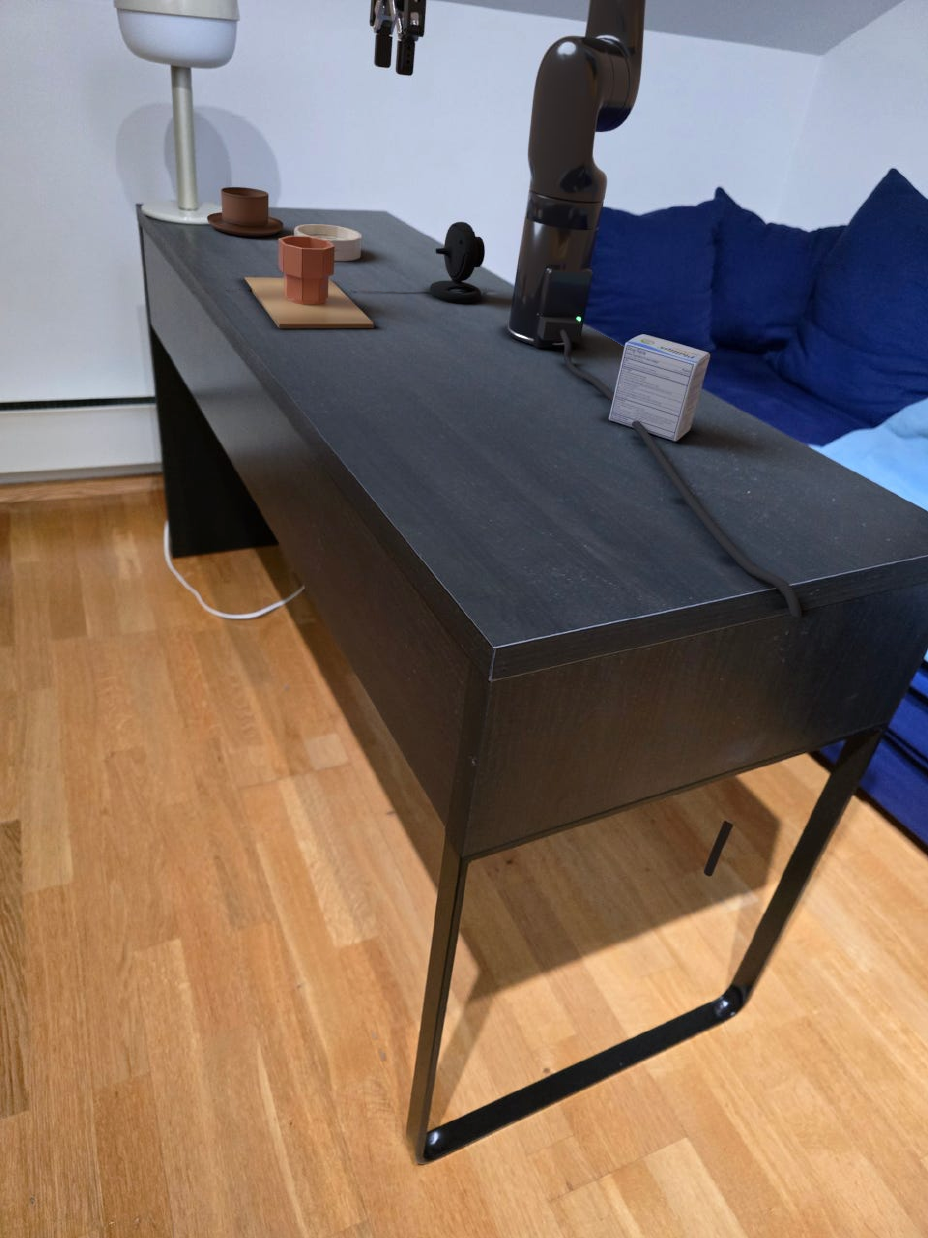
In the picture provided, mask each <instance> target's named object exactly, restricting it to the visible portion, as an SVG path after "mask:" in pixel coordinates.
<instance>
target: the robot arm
mask: <svg viewBox="0 0 928 1238" xmlns="http://www.w3.org/2000/svg"><path fill="white" fill-rule="evenodd" d="M646 2H647V0H588V5H587V7H588V8H587V16H586V26H585V32H584V36H583V35H565V36H562V37H560V38H559V39H557V40H555V41H554V42H553V43H552V44H551V45H550V46H549V47H548V49H546V52H545V53H544V55H543V56H542V59H541V60H540V63H539V67H538V69H537V72H536V73H537V74H536V76H535V77H536V78H535V82H534V88H533V95H532V102H531V103H532V104H531V114H530V125H529V133H528V143H527V163H528V164H527V165H528V169H529V176H530V177H529V186H528V193H527V200H526V207H525V213H524V219H523V225H522V233H521V239H520V244H519V245H520V246H519V252H518V259H517V266H516V273H515V278H514V284H513V285H514V286H513V293H512V299H511V306H510V313H509V320H508V324H507V328H506V332H507V334H508V335H509V336H510V337H512V338H514V339H516V340H517V341H520V342H523V343H526V344H529V345H533V346H534V347H535V348H539V349H544V348H545V349H548V348H549V349H550V348H554V349H555V348H558V349H559V348H564V353H563V360H564V364H565V366H566V368H567V369H568V370H570V372H572V373H573V374H575V375H576V376H577V377H578V378H580V379H582V380H584V381H586V382H587V383H589V384H591V385H593V386H594V387H595V388H596V389H598V391H600V392H601V394H603V395H604V396H605V397H606V398H607V399H608V400H609V401H610V402H611V403H612V402H613V398H614V393H615V392H613V391H612V390H611V389H610V388H609V387H608V386H607V385H605V384H604V383H603V382H602V381H601V380H600V379H599V378H597V377H595V375H591V374H590V373H587V372H585V371H582V370H580V369H579V368H577V367H576V365H574V363H573V361H572V357H571V356H572V348H579V347H580V341H581V336H582V333H583V332H582V331H583V326H584V322H585V315H586V312H587V306H588V301H589V295H590V291H591V287H592V286H591V285H592V280H593V275H594V273H593V271H592V264H593V259H594V254H595V248H596V244H597V238H598V233H599V227H600V225H601V224H600V223H601V219H602V213H603V208H604V203H605V198H606V195H607V194H606V192H607V187H608V176H607V173H605V172H604V171H603V170H602V169H600V168H599V167H598V165H597V163H596V162H595V159H594V147H595V138H596V133H607V132H611V131H614V130H616V129H618V128H619V127H620V126H622V125H623V124H624V123H625V121H626V120H627V119H628V118H629V116H630V114H631V113H632V111H633V109H634V107H635V105H636V101H637V98H638V95H639V89H640V84H641V77H642V66H643V52H644V51H643V50H644V33H645V19H646V4H647V3H646ZM369 11H370V12H369V26H370V27H373V33H374V34H375V41H374V42H375V43H374V57H373V58H374V59H373V60H374V61H373V64H374V66H375V67H377V68H384V69H389V68H391V66H392V53H393V39H394V37H393V35H394V31H395V28H396V32H397V37H398V38H397V39H398V40H396V41H397V43H396V58H395V73H396V74H397V75H400V76H406V77H407V76H408V77H411V76H412V75H413V74H414V67H415V64H414V63H415V53H416V43H417V42H418V41H419V38H424V36H425V31H426V13H427V0H370V9H369ZM632 426H633V427H634V428H633V429H634V430H635V431H636V433H637V434H638V435H639V437H640V438H641V440H643V442H644V443H645V445H646V446H647V447H648V450H650V452H651V453H652V455H653V456H654V458H655V460H656V461H657V462H658V464H659V466H660V467H661V468H662V470H663V471H664V474H665V475H666V476H667V477H668V479H669V480H670V482H671V483H672V484H673V486H674V487H675V489H676V490H677V492H678V493H679V494H680V496H681V498H682V499H683V500H684V502H685V503H686V504H687V506H688V507H689V508H690V510H691V511H692V512H693V514H694V515H695V517H696V518H697V519H698V520H699V521H700V523H701V524H702V525H703V526H704V528H705V529H706V530H707V531H708V532H709V534H710V535H711V536H712V537H713V539H714V540H715V541H716V542H717V544H718V545H719V546H720V547H721V549H723V550H724V552H725V553H726V554H727V555H728V556H729V557H730V558H731V559H732V560H733V561H734V562H735V563H736V564H737V565H738V566H739V567H740V568H741V569H742V570H743V571H745V572H746V573H747V574H749V575H750V576H751V577H754V578H756V579H758V580H760V581H761V582H764V583H765V584H766V583H767V584H769V585H770V586H772V587H773V588H775V589H776V590H777V591H779V592H780V593H781V595H782V596H783V597H784V598H785V601H786V603H787V607H788V609H789V610H788V611H789V614H790V615H791V616H793V617H795V618H798V619H801V618H802V617H803V613H802V608H801V605H800V602H799V598H798V596H797V594H796V592H795V591H794V589H793V588H792V586H791V585H790V584H789V583H788V582H787V581H786V580H785V579H783V578H781V577H780V576H779V575H776V574H774V573H773V572H770V571H768V570H765V569H763V568H762V567H759V566H758V565H756V564H755V563H753V562H752V561H751V560H750V559H749V558H748V557H746V555H744V554H743V553H742V552H741V551H740V550H739V549H738V548H737V547H736V546H735V545H734V543H732V541H731V540H730V539H729V538H728V537H727V536H726V535H725V533H724V532H723V531H722V530H721V529H720V528H719V527H718V525H717V524H716V523H715V522H714V521H713V519H712V518H711V516H709V515H708V513H707V512H706V511H705V509H704V508H703V507H702V506H701V505H700V504H699V502H698V501H697V500H696V498H695V497H694V496H693V494H692V493H691V492H690V490H689V488H688V487H687V486H686V485H685V483H684V482H683V481H682V479H681V477H680V476H679V475H678V474H677V472H676V471H675V469H674V467H673V466H672V465H671V463H670V462H669V461H668V459H667V458H666V456H665V455H664V453H663V452H662V450H661V449H660V447H659V446H658V445H657V443H656V441H654V439H653V437H652V436H651V435H650V433H648V432H647V431H646V430H645V428H644V427H643V426H642V424H641V423H640V422H638V421H633V422H632ZM733 827H734V824H733V823H731V822H728V821H727V820H724V821H723V823H722V825H721V827H720V830H719V831H718V834H717V837H716V839H715V841H714V844H713V846H712V849H711V851H710V854H709V856H708V858H707V862H706V864H705V866H704V869H703V874H704V876H706V877H712V876H713V875H714V872H715V870H716V867H717V864H718V862H719V859H720V857H721V854H722V852H723V850H724V848H725V846H726V842H727V841H728V838H729V836H730V834H731V831H732V829H733Z"/></svg>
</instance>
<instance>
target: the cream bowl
mask: <svg viewBox="0 0 928 1238" xmlns="http://www.w3.org/2000/svg"><path fill="white" fill-rule="evenodd" d="M293 236H310V237H315V238H320V239H324V240H328V241H330V242H331V243H332V244H333V245H334V246H335V253H334V262H349V261H355V260H358V259H360V258H361V256H362V241H363V235H362V234H361V232H359V231H357V230H354V229H351V228H349V227H344V226H339V225H333V224H321V223H319V224H318V223H310V224H308V223H307V224H299V225H297V226H295V228H293Z"/></svg>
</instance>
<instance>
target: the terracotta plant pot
mask: <svg viewBox="0 0 928 1238" xmlns="http://www.w3.org/2000/svg"><path fill="white" fill-rule="evenodd" d="M334 253H335V246H334V245H333V244H332V243H331V242H330V241H328V240H324V239H320V238H315V237H310V236H294V235H287V236H283V237H281V238H278V269H279V270H280V271H281V272H282V273H283V278H284V290H283V292H284V293H285V299H286V300H288V301H290V302H293V303H297V304H303V305H319V304H323V303H325V302H326V300H327V298H328V280H329V279H330V277H331V276H334V274H335V261H334Z"/></svg>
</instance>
